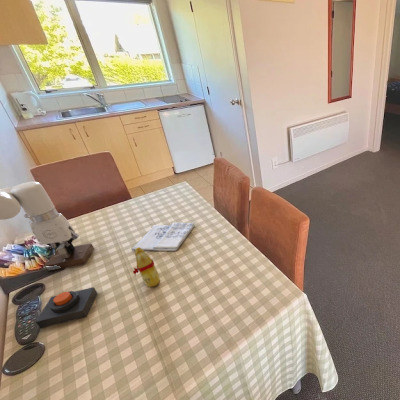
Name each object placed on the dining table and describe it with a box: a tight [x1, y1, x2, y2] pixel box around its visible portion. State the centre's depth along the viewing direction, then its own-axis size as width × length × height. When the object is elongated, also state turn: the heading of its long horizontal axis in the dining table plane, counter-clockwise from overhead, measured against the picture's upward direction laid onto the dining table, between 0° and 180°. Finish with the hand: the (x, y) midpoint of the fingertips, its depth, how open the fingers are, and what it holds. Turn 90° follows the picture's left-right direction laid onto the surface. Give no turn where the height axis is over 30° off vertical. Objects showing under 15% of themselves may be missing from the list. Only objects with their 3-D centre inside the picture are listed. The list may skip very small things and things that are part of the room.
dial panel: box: [44, 242, 95, 272], centre depth 108 cm, size 12×10×3 cm
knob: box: [57, 242, 71, 259], centre depth 106 cm, size 6×2×5 cm, turn 17°
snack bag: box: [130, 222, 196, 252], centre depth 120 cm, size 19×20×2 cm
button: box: [53, 291, 72, 306], centre depth 85 cm, size 4×4×2 cm
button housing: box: [35, 286, 99, 329], centre depth 86 cm, size 12×10×5 cm
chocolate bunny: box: [132, 247, 161, 288], centre depth 95 cm, size 7×11×15 cm, turn 41°
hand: (68, 252), depth 107 cm, fingers closed on knob, 2 cm apart
